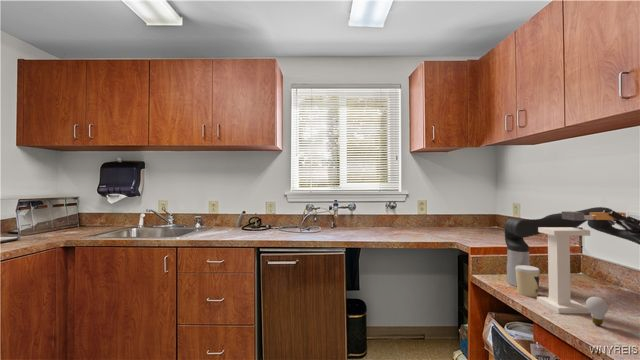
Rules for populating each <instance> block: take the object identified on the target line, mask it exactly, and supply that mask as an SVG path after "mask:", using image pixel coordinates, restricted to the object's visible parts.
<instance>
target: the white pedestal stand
mask: <svg viewBox="0 0 640 360" xmlns="http://www.w3.org/2000/svg"><path fill="white" fill-rule="evenodd" d="M538 232H540V233H543V234H545V235H547V259H548V260H547V263H548V264H547V267H548V269H547V271H548V274H547V275H548V279H547V280H548V296H537V297H536V302H537V303H539V304H541V305H543V306H545V307H547V308H548V309H550V310H551V311H554V312H555V313H557V314H591V312H590V311H589V309H588V308H587V306H586V305H584V304H581V303H579V302H577V301H576V300H573V299H571V296H572V295H571V253H570V250H571V249H570V248H571V245H570V244H571V243H570V240H571V239H570V238H571V237H572V236H573V237H575V236H576V237H577V236H580V237H581V236H586V237H587V236H591V230H589V229H584V228H579V227H577V228H572V227H538ZM570 236H571V237H570Z"/></svg>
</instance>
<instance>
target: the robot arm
mask: <svg viewBox="0 0 640 360" xmlns="http://www.w3.org/2000/svg"><path fill="white" fill-rule="evenodd" d="M574 212H580V213H584V215H590V212H610V216H612V217H614V218H615V219H617V220H568V219H562V212H559V213H552V214H547V215H545V216H544V217H542V218H538V219H537V218H534V219H529V218H528V219H525V218H521V217H520V218H518V217H510V218H508V219H506V221H505V223H504V240H505V245H506V248H507V249H506V251H507V254H506V255H507V263H506V282H507V284H508V285H510V286H513V287H514V286H515V287H517V280H516V269H515V267H516V266H517V265H527V266H530V246H529V245H528V243H527V242H525V238H528V237H529V238H530V237H532V236H533V237H534V236H537V235H541V234H542V235H543V234H544V233H540V232H538V227H572V228H579V227H580V226H581V225H582V224H584V223H585V222H587V225H588V227H590V228H591V229H593V230H596V231H597V232H601V233H604V234H607V235H610V236H614V237H617V238H620V239H623V240H625V241H630V242H632V243H635V244H638V245H639V246H640V219H636V218H634V217H631V216H629V215H626V216H625V215H621V214H619V213H617V212H618V211H615V210H613V209H611V208H609V207H603V206H598V207H591V208H586V209H581V210H577V211H574ZM615 225H617V226H619V227H620V228H617V227H614V226H615Z"/></svg>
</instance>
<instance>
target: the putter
mask: <svg viewBox="0 0 640 360" xmlns="http://www.w3.org/2000/svg"><path fill="white" fill-rule="evenodd" d="M616 212H617V213H619V214H621V215H625V216H626V217H627V213H626V212H622V211H616ZM561 213H562V219H568V220H617V219H615V218H614V217H612V216H610V212H590V215H584V213H580V212H575V211H570V210H569V211H568V210H567V211H561Z"/></svg>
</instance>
